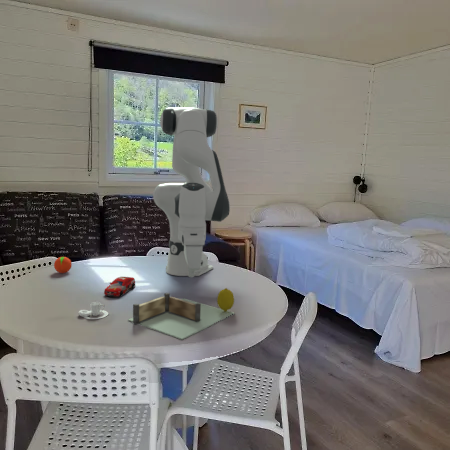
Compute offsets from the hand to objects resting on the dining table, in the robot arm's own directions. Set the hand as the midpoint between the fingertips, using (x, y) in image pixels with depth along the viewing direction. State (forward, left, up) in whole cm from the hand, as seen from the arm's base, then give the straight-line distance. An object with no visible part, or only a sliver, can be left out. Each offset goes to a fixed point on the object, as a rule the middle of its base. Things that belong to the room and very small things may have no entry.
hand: (191, 276), depth 141 cm
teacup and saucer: (+21, -24, -13) cm, 35 cm away
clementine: (0, -70, -13) cm, 71 cm away
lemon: (-7, +9, -12) cm, 17 cm away
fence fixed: (+12, -6, -12) cm, 18 cm away
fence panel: (+5, +2, -12) cm, 13 cm away
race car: (0, -34, -13) cm, 36 cm away
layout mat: (+5, +1, -12) cm, 13 cm away
